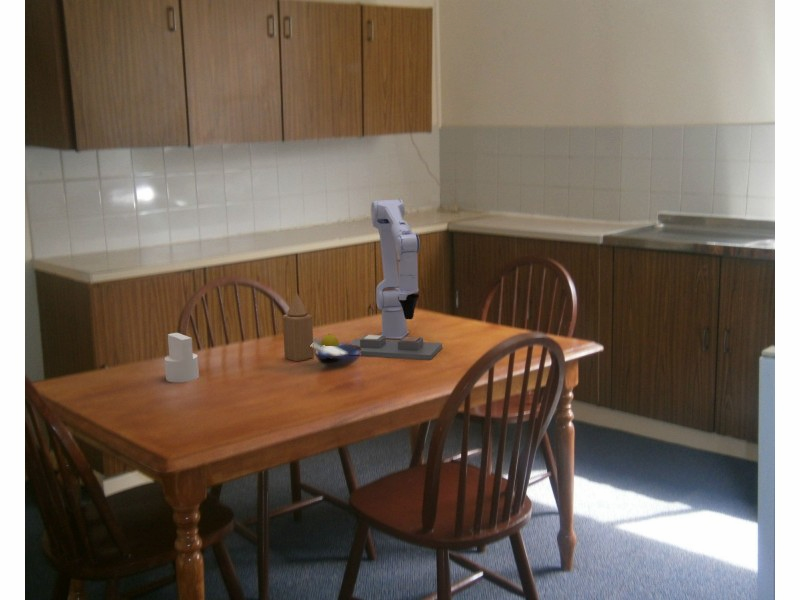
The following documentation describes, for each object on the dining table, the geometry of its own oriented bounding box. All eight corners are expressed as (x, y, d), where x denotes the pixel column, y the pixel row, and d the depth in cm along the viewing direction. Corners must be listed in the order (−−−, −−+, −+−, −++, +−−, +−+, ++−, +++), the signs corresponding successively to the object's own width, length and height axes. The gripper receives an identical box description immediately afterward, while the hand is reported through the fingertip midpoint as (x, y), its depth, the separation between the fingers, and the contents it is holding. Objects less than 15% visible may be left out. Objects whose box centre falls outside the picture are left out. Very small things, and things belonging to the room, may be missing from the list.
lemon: (317, 360, 269) (316, 334, 267) (331, 356, 273) (330, 330, 271) (329, 363, 265) (328, 337, 263) (343, 359, 269) (342, 333, 267)
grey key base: (356, 343, 287) (355, 330, 286) (442, 347, 279) (441, 335, 279) (340, 354, 274) (340, 341, 273) (430, 360, 266) (430, 346, 265)
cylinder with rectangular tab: (160, 377, 255) (157, 336, 253) (189, 371, 261) (186, 330, 258) (175, 384, 248) (171, 342, 246) (204, 377, 254) (201, 336, 251)
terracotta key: (405, 343, 277) (405, 336, 277) (419, 343, 276) (419, 337, 276) (401, 346, 273) (401, 340, 273) (415, 347, 272) (415, 341, 272)
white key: (368, 341, 281) (368, 334, 280) (382, 341, 279) (381, 335, 279) (363, 344, 277) (363, 338, 276) (377, 345, 275) (377, 339, 275)
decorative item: (314, 358, 271) (311, 292, 267) (296, 362, 267) (292, 295, 263) (302, 353, 276) (299, 289, 272) (283, 358, 272) (280, 292, 268)
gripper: (401, 269, 278) (402, 312, 281) (388, 278, 265) (389, 323, 268) (424, 270, 277) (424, 313, 279) (411, 279, 263) (412, 324, 266)
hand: (409, 318), depth 273 cm, fingers closed
